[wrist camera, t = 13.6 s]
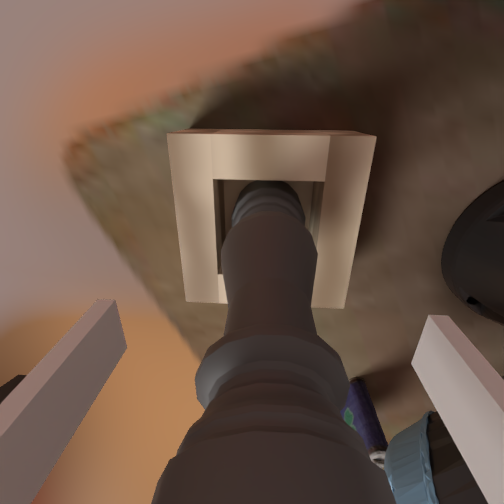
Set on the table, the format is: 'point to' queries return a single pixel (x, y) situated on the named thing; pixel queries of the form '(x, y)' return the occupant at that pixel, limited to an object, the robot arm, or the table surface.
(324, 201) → the socket block
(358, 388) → the flask
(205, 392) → the candle holder
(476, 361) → the robot arm
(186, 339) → the table surface
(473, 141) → the table surface
